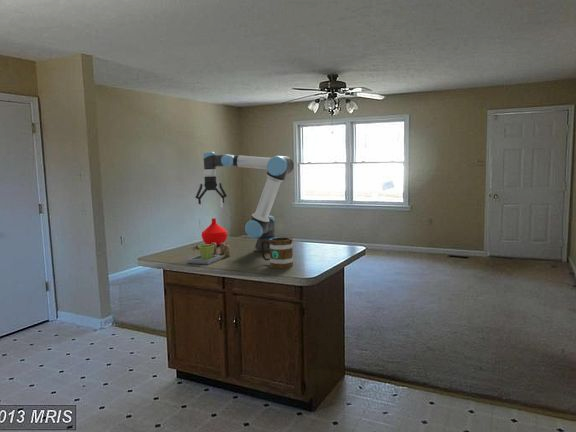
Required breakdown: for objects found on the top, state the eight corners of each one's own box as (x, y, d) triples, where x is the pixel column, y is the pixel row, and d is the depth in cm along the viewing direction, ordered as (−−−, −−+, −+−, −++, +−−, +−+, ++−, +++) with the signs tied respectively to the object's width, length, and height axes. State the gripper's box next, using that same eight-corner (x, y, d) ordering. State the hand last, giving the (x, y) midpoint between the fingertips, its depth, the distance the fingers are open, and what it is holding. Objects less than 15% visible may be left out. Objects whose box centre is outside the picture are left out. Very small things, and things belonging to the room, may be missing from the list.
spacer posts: (236, 254, 289) (235, 243, 288) (222, 259, 273) (221, 248, 272) (212, 252, 295) (212, 242, 295) (198, 258, 280) (197, 246, 279)
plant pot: (201, 262, 263) (200, 247, 262) (196, 259, 272) (196, 245, 271) (216, 260, 268) (216, 246, 267) (211, 257, 276) (211, 243, 275)
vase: (207, 242, 336) (206, 217, 334) (231, 242, 332) (230, 217, 330) (198, 247, 318) (196, 220, 316) (222, 247, 314) (221, 220, 312)
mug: (298, 264, 255) (297, 237, 253) (286, 269, 243) (285, 241, 241) (268, 261, 264) (267, 236, 263) (255, 266, 253) (254, 239, 251)
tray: (221, 259, 273) (220, 255, 273) (208, 264, 260) (208, 260, 260) (201, 258, 278) (201, 254, 278) (188, 263, 265) (187, 259, 265)
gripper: (227, 175, 302) (228, 206, 304) (189, 176, 292) (191, 209, 295) (230, 175, 295) (231, 207, 297) (192, 176, 285) (193, 210, 288)
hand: (211, 208), depth 296 cm, fingers open, 13 cm apart
